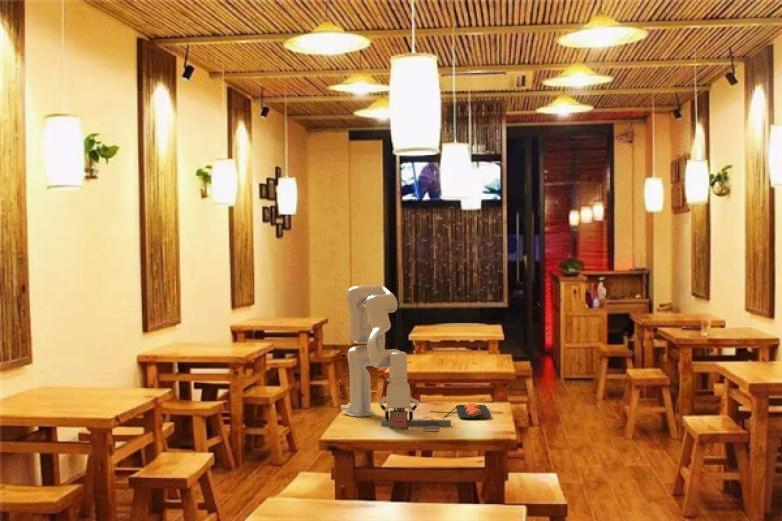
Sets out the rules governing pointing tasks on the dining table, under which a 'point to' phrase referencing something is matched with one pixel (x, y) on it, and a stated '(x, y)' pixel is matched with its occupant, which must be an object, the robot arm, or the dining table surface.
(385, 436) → the dining table surface
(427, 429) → the marked pad
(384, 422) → the rail
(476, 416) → the sushi plate
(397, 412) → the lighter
